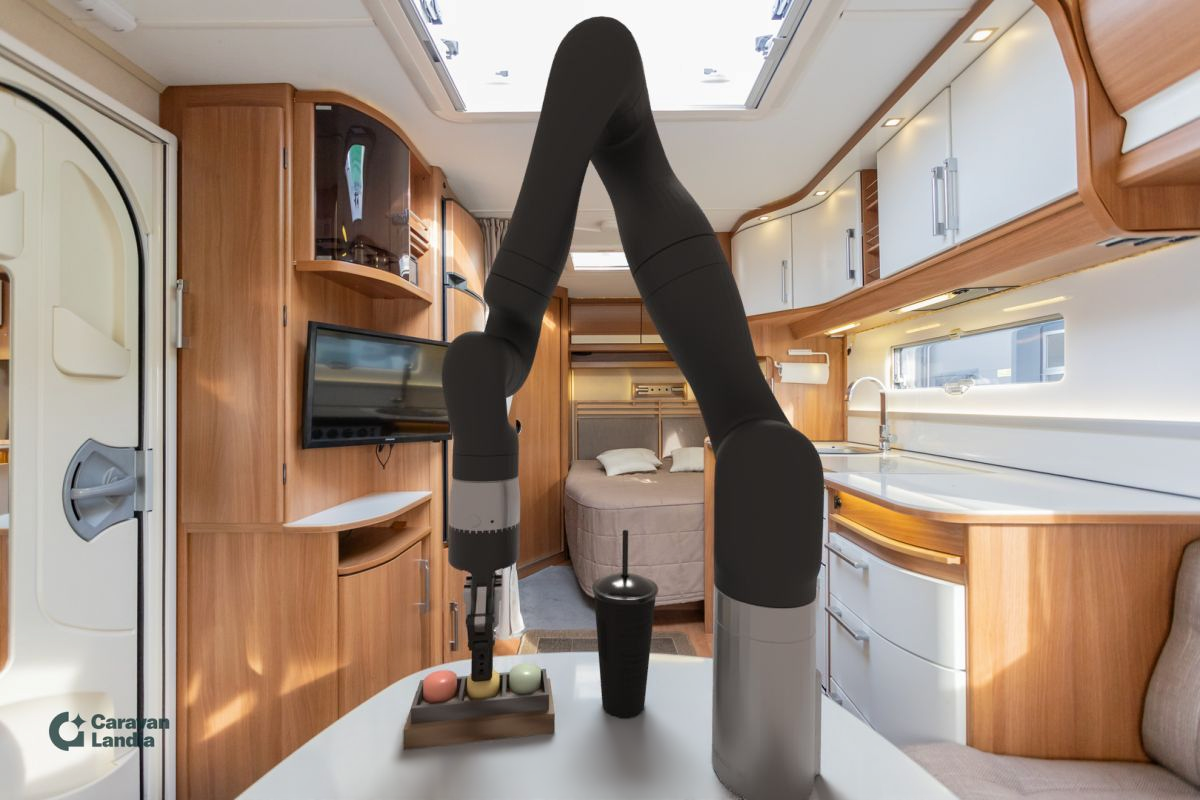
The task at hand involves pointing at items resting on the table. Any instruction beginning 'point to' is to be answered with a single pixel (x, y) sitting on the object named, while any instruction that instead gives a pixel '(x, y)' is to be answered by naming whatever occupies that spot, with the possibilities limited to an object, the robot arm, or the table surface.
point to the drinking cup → (624, 637)
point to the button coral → (440, 687)
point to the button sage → (525, 679)
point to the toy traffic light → (479, 716)
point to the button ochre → (483, 687)
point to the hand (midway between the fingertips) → (482, 677)
